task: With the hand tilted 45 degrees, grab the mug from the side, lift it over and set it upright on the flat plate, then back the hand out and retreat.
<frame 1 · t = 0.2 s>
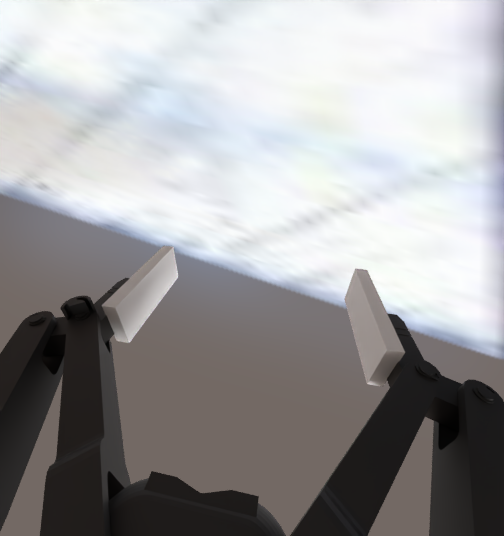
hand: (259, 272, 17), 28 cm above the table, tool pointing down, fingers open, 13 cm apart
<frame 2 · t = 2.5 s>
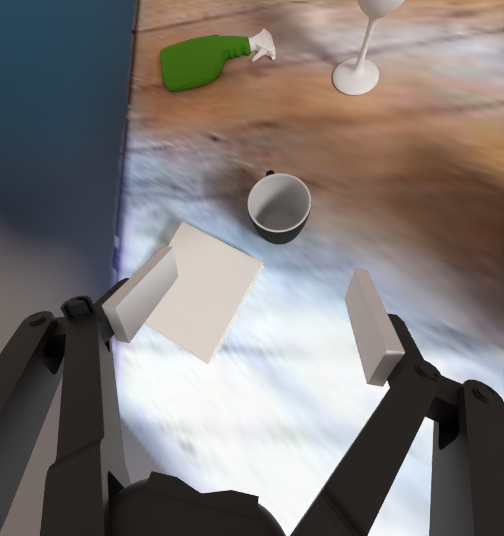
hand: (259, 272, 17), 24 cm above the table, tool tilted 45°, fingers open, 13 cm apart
mug: (277, 219, 42), on the table
flat plate: (202, 290, 42), on the table
spray bottle: (218, 64, 51), on the table
wineglass: (354, 78, 46), on the table
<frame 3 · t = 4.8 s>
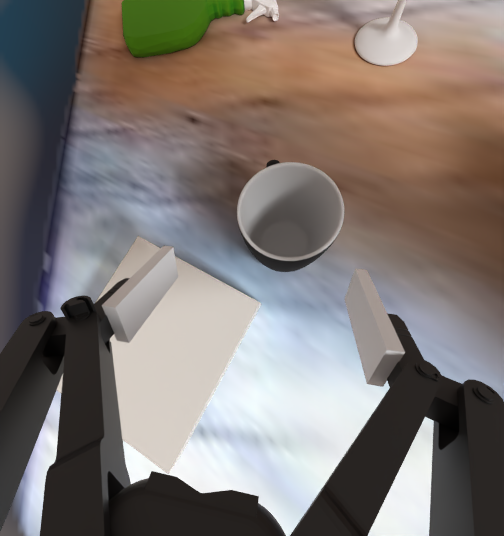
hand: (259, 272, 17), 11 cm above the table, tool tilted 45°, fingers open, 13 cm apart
mug: (281, 234, 29), on the table
flat plate: (168, 338, 28), on the table
spray bottle: (202, 26, 38), on the table
wineglass: (384, 44, 34), on the table
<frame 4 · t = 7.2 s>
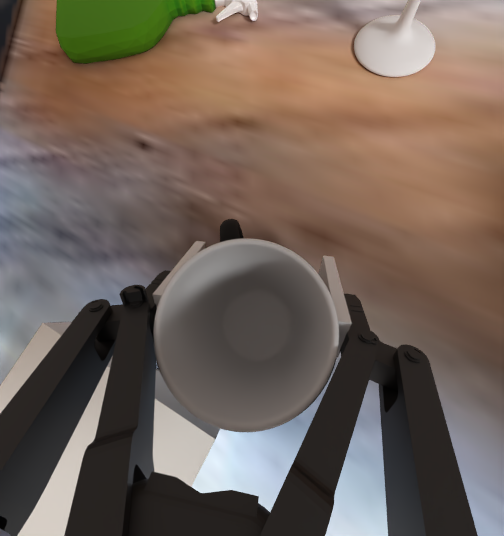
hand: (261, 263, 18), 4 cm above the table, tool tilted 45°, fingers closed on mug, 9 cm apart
mug: (254, 306, 21), on the table, touching gripper
flat plate: (92, 464, 19), on the table
spray bottle: (163, 25, 30), on the table
wineglass: (392, 49, 26), on the table
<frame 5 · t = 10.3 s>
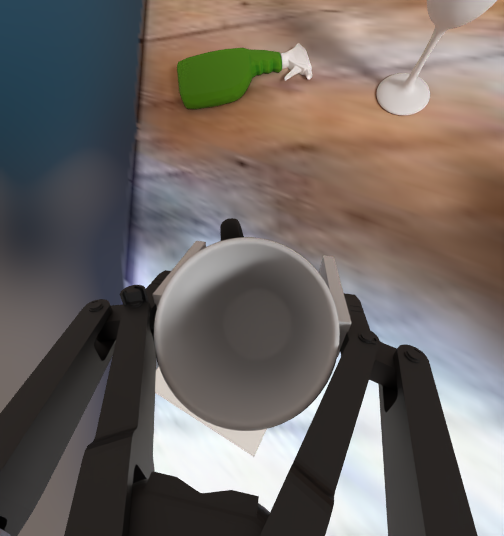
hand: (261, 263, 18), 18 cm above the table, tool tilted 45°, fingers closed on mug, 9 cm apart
mug: (254, 306, 21), point 14 cm above the table, touching gripper
flat plate: (236, 349, 34), on the table
spray bottle: (244, 81, 45), on the table
wineglass: (401, 95, 40), on the table
when the fingers open (9 cm above the table, at t = 13.2 s): mug stays where it is, resting on flat plate.
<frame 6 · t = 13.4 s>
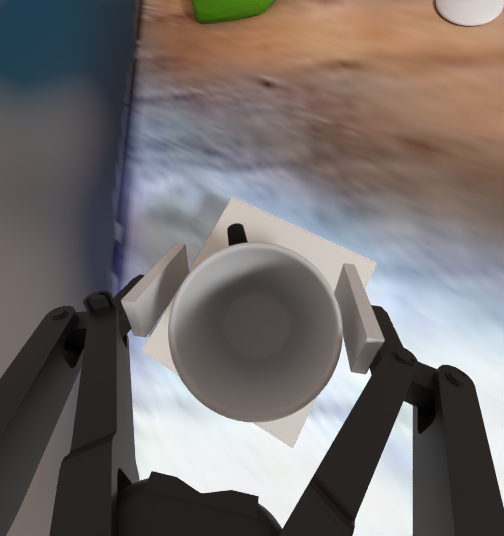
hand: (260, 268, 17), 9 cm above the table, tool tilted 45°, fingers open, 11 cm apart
mug: (253, 307, 22), point 4 cm above the table, touching flat plate
flat plate: (260, 308, 26), on the table
wineglass: (466, 5, 32), on the table
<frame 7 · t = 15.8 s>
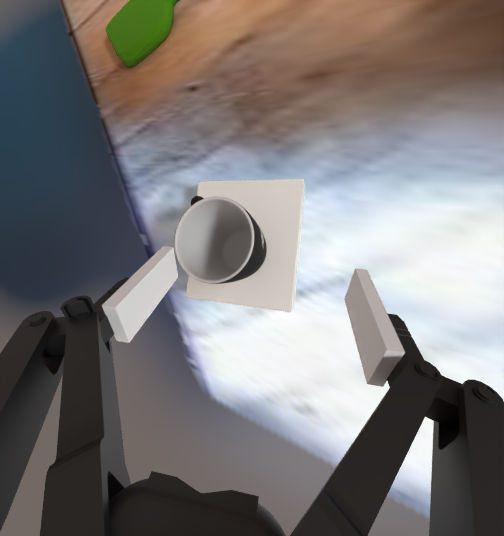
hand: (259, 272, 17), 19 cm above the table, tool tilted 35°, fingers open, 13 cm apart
mug: (238, 243, 33), point 4 cm above the table, touching flat plate
flat plate: (249, 245, 37), on the table
spray bottle: (168, 15, 45), on the table
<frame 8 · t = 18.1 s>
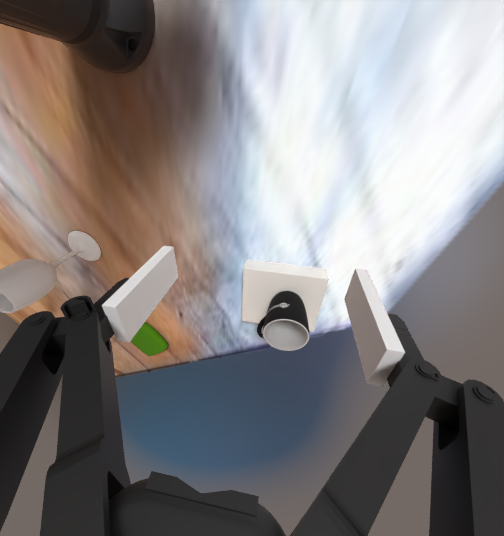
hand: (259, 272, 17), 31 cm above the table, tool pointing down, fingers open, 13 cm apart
mug: (281, 303, 53), point 4 cm above the table, touching flat plate
flat plate: (281, 291, 56), on the table
spray bottle: (136, 322, 74), on the table
wineglass: (85, 245, 59), on the table
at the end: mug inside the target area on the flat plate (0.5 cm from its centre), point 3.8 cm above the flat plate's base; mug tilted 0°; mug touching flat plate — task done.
